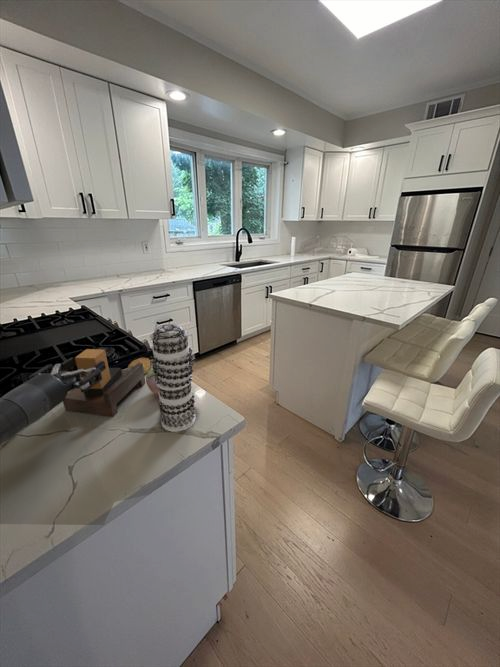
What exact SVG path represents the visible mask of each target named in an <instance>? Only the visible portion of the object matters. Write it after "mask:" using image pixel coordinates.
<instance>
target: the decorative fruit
mask: <svg viewBox="0 0 500 667" xmlns="http://www.w3.org/2000/svg"><path fill="white" fill-rule="evenodd" d="M153 370H154V369H153V368H152V367H151V368H150V370H149V371H148V372H147V373H146V375H145V384H146V385H147V387H148V389H149V390H150V391H151V392H152V394H155V395H158V396H159V387H157V384H156V381H155V378H156V377H154V374H155V373H154V372H153Z"/></svg>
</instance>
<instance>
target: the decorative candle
mask: <svg viewBox="0 0 500 667" xmlns="http://www.w3.org/2000/svg"><path fill="white" fill-rule="evenodd" d="M188 336H189V332H188V330H186V329H184V328H183V327H182V326H181V325H178V324H164V325H160V326H158V327H156V328H155V329H154V331H153V332H152V333H151V334H150V335H149V338H150V340H151V341H152V346H153V347H152V355H150V359H151V360H150V364H152V367H151V369H152V368H153V369H154V370H153V372H154V373H155V374H154V377H156V378H155V381H156V384H157V387H159V395H158V400H157V401H158V407H159V408H158V409H159V416H160V423H161V426H162V428H163V429H164V430H166V431H168V432H172V433H175V432H177V433H178V432H183V431H186V430H188V429H189V428H191V427H192V426H193V425H194V423H195V422H196V418H197V417H196V414H197V413H196V411H195V409H196V406H195V402H196V401H195V395H194V392H193V391H194V390H193V387H192V382H193V377H194V376H193V372H194V369H193V366H194V364H193V362H192V361H193V359H194V357H193V355H192V354H193V349H192V348H191V347H190V345H189V341H188V340H189V339H188Z"/></svg>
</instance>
